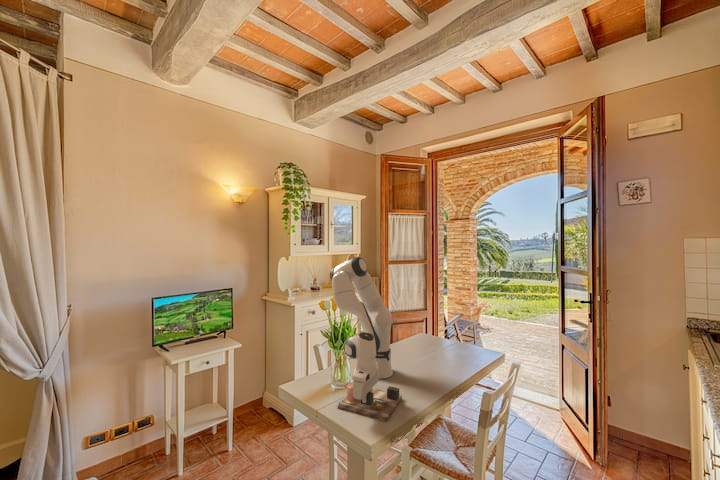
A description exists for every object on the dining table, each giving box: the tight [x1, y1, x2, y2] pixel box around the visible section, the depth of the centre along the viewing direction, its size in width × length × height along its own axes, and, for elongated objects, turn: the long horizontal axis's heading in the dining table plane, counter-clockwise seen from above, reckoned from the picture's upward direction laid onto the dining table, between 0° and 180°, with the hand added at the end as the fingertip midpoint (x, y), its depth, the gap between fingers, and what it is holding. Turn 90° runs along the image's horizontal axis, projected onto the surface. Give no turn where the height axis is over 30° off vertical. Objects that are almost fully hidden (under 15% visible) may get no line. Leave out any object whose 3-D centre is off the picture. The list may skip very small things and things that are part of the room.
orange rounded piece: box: [346, 383, 358, 402], centre depth 144 cm, size 5×5×6 cm
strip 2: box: [372, 385, 401, 405], centre depth 147 cm, size 14×7×6 cm, turn 64°
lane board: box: [337, 387, 403, 422], centre depth 145 cm, size 24×20×2 cm
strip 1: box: [340, 392, 375, 409], centre depth 143 cm, size 14×7×6 cm, turn 64°
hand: (366, 399), depth 141 cm, fingers closed on strip 1, 3 cm apart
